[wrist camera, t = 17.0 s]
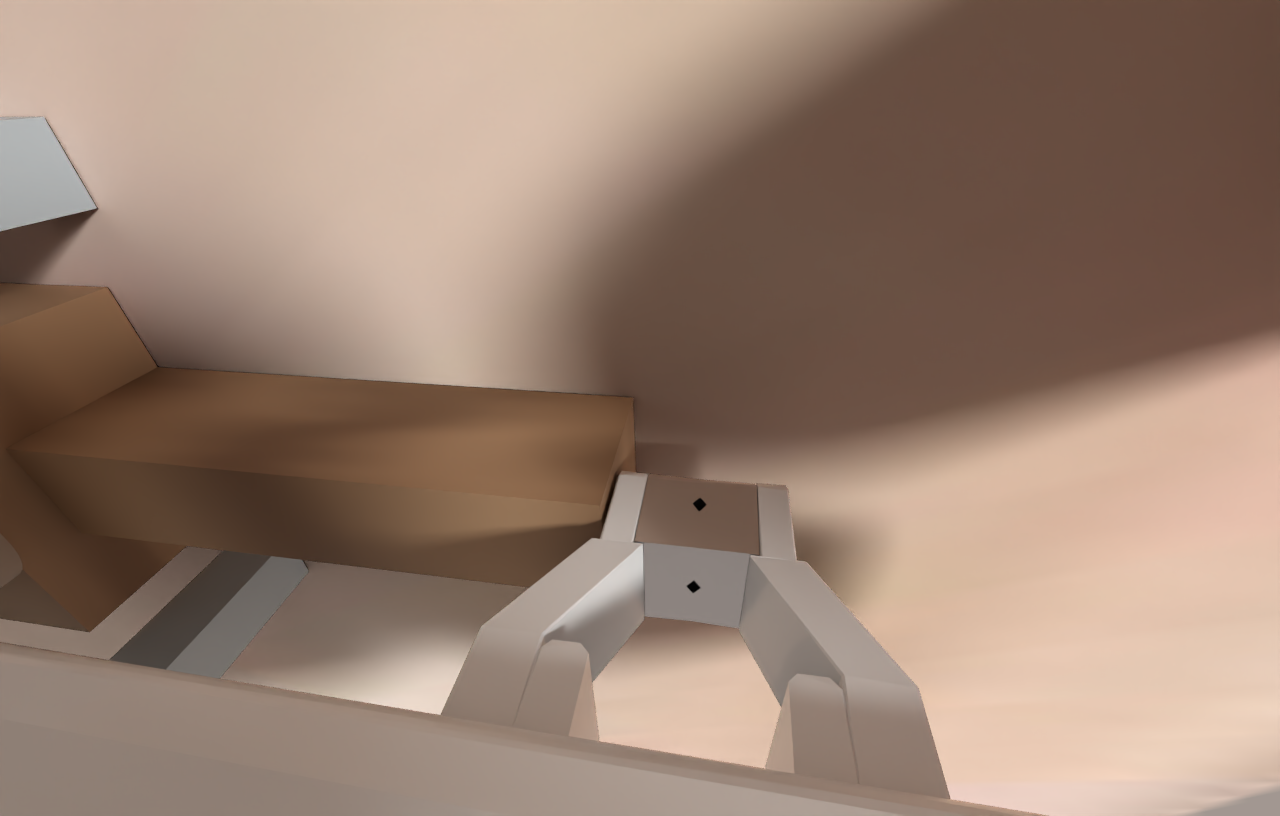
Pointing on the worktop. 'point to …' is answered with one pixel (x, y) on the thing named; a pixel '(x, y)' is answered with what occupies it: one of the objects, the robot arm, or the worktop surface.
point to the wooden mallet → (270, 466)
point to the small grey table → (233, 582)
